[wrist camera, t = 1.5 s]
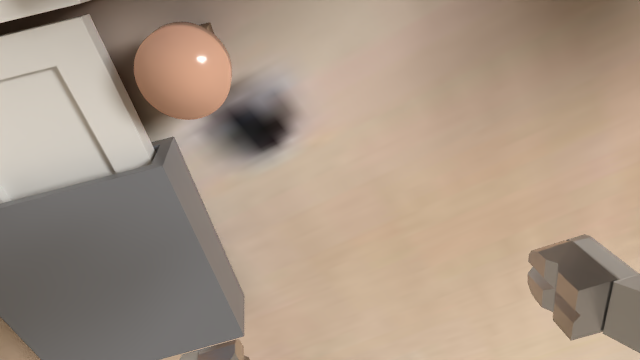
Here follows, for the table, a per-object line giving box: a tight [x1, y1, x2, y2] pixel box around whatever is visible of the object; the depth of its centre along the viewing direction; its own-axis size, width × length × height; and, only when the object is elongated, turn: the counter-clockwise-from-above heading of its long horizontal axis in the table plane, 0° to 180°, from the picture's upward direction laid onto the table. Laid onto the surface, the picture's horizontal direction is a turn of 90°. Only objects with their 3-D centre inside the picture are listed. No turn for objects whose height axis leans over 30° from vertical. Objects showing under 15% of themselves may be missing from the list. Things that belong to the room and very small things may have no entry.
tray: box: [0, 0, 156, 204], centre depth 30 cm, size 20×18×5 cm
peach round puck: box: [134, 22, 232, 120], centre depth 26 cm, size 6×6×2 cm
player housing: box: [0, 137, 244, 360], centre depth 36 cm, size 20×18×5 cm
